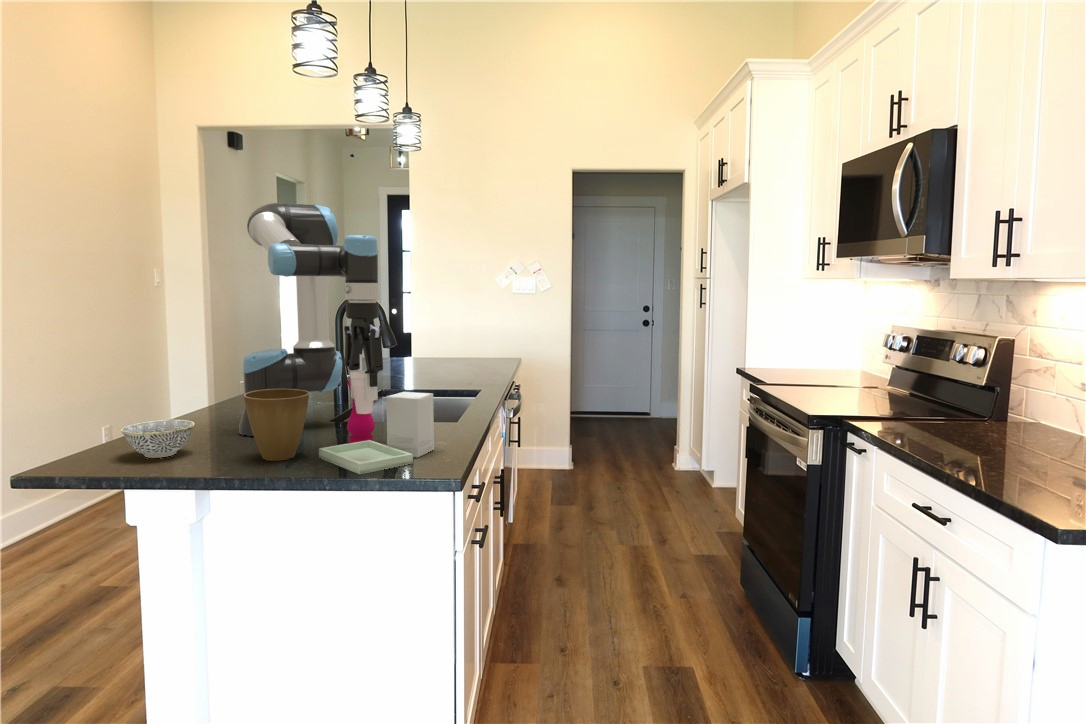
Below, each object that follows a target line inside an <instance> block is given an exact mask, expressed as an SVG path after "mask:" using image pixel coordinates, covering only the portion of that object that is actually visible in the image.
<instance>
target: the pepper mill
mask: <svg viewBox="0 0 1086 724" xmlns="http://www.w3.org/2000/svg"><path fill="white" fill-rule="evenodd" d="M358 370H360V369H358ZM362 371H364V370H363V369H362ZM348 380H349V381H348V388H349V391H351V378H350V379H348ZM350 399H351V400H352V408H351V413H350V416H349V418H348V420H347V425H346V430H347V432H348V433H349V434H350V436H349V438H348V440H349V441H348V442H349V443H355V442H361V441H367V440H371V441H374V435H373V432H374V431H375V429H376V424H375V423H376V422H375V420H374V417H373V415H372V413H369V414H358V413H356V406H355V399H354V397H351V396H350ZM349 443H348V444H349Z"/></svg>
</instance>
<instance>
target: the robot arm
mask: <svg viewBox="0 0 1086 724" xmlns="http://www.w3.org/2000/svg"><path fill="white" fill-rule="evenodd" d="M246 225H247V226H246V229H247V233H248V235H249V237H250V238H251V240H252V241H253V242H254V243H255V244H257V245H258V246H261V247H263V248H264V249H265V250H266V251H267V265H268V268H269V272H270V273H271V274H272V275H274V276H283V277H286V278H287V277H295V278H296V279H295V282H296V283H295V284H296V304H297V305H296V308H297V310H296V311H297V328H298V329H297V333H298V335H297V337H298V338H297V339H298V341H297V342H296V343H295V344H294V345H293V346H292V349H293V350H292V351H293V352H291V353H289V352H288V351H287V349H286V348H273V349H272V348H271V349H264V350H258V351H254V352H251V353H249V354H246V355H245V357H244V358H243V365H242V373H243V391H244V392H243V393H244V394H246V393H248V392H252V391H257V390H265V389H298V390H305V391H308V392H309V393H316V392H319V393H323V392H328V391H333V390H335V389H337V387H338V386H339V384H340V381H341V378H342V374H343V373H342V372H343V359H342V354H341V353H340V351H337V350H336V347H335V346H336V345H335V344H334V343H333V342H332V341H331V340H330V328H329V327H330V325H329V322H330V321H329V298H328V295H329V294H328V277H340V278H344V279H345V280H344V281H345V282H344V283H345V288H344V291H345V300H346V301H348V302H346V303H345V317H346V318H347V319H351V320H350V321H351V322H350V325H346V326H345V325H344V327H343V330H344V335H345V336H344V337H345V339H344V341H345V342H344V365H345V367H348V370H349V371H350V372H349V373H351V372H356V371H360V370H358V369H360V354H362V355H363V354H364V361H365V366H366V370H364V371H365V386H366V401H373V400H374V401H378V400H379V399H378V398H379V397H378V384H379V383H378V373H379V372H381V371H383V370H384V362H383V360H384V359H383V346H382V344H383V343H382V335H383V329H382V328H381V327H379V328H378V327H376V325H375V319H378V318H380V317H379V316H380V313H379V312H380V311H379V310H380V309H379V304H378V302H377V301H378V300H379V281H378V280H379V270H378V269H379V266H378V265H379V264H378V263H379V256H378V255H379V249H378V242H377V241H378V240H377V238H376V237H375V236H373V235H369V234H367V235H366V234H365V235H363V234H362V235H361V234H350V235H346V236H345V237H344V243H343V245H339V244H338V241H339V240H338V238H339V229H338V224H337V220H336V217H335V214H334V212H333V211H332V210H331V209H330V208H329V207H327V206H323V205H317V204H301V203H300V204H299V203H282V202H273V203H272V202H271V203H267V204H264V205H261V206H260V207H258V208H256V209H255V210H254V211H253V212H252V213H251V214H250V215H249V217H248V219H247V224H246ZM337 244H338V245H337ZM363 368H364V367H363V366H362V369H363ZM350 379H351V378H350ZM244 394H243V395H244ZM351 397H354V393H353V386H352V379H351V390H350V398H351ZM374 401H373V402H374ZM238 433H240V434H243V435H247V436H246V437H250V436H253V433H252V429H251V426H250V422H249V419H248V415H247V410H246V405H245V404H244V407H243V410H242V414H241V419H240V421H239V423H238ZM240 434H239V435H240ZM243 435H242V436H243Z"/></svg>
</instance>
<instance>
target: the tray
mask: <svg viewBox="0 0 1086 724" xmlns="http://www.w3.org/2000/svg"><path fill="white" fill-rule="evenodd" d="M318 458H319V459H320V458H321V460H323V461H325V462H328V463H331V464H334V465H336V466H337V467H338V466H339V467H341V468H343V469H345V470H348V471H350V472H353V473H355V474H358V475H365V474H369V473H373V472H379V471H385V470H389V468H390V469H394V467H395V468H399V466H400V467H405V466H409V465H408V464H410V465H414V457H413V454H411V453H408V452H405V451H402V450H399V449H396V448H393V447H389V446H387V444H383V443H380V442H377V441H374V440H373V441H371V440H367V441H361V442H355V443H343V444H337V445H331V446H324V447H320V448H318ZM404 465H405V466H404ZM384 469H385V470H384Z"/></svg>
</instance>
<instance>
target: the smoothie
mask: <svg viewBox="0 0 1086 724" xmlns="http://www.w3.org/2000/svg"><path fill="white" fill-rule="evenodd" d="M362 367H363V353H362V354H360V371H356V372H349V378H350V379H352V386H353V393H354V399H355V406H356V413H358V414H369V413H371V414H372V413H373V409H374V401H375V400H373V401H366V386H365V371H366V370H363V368H362ZM362 370H363V371H362Z"/></svg>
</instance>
